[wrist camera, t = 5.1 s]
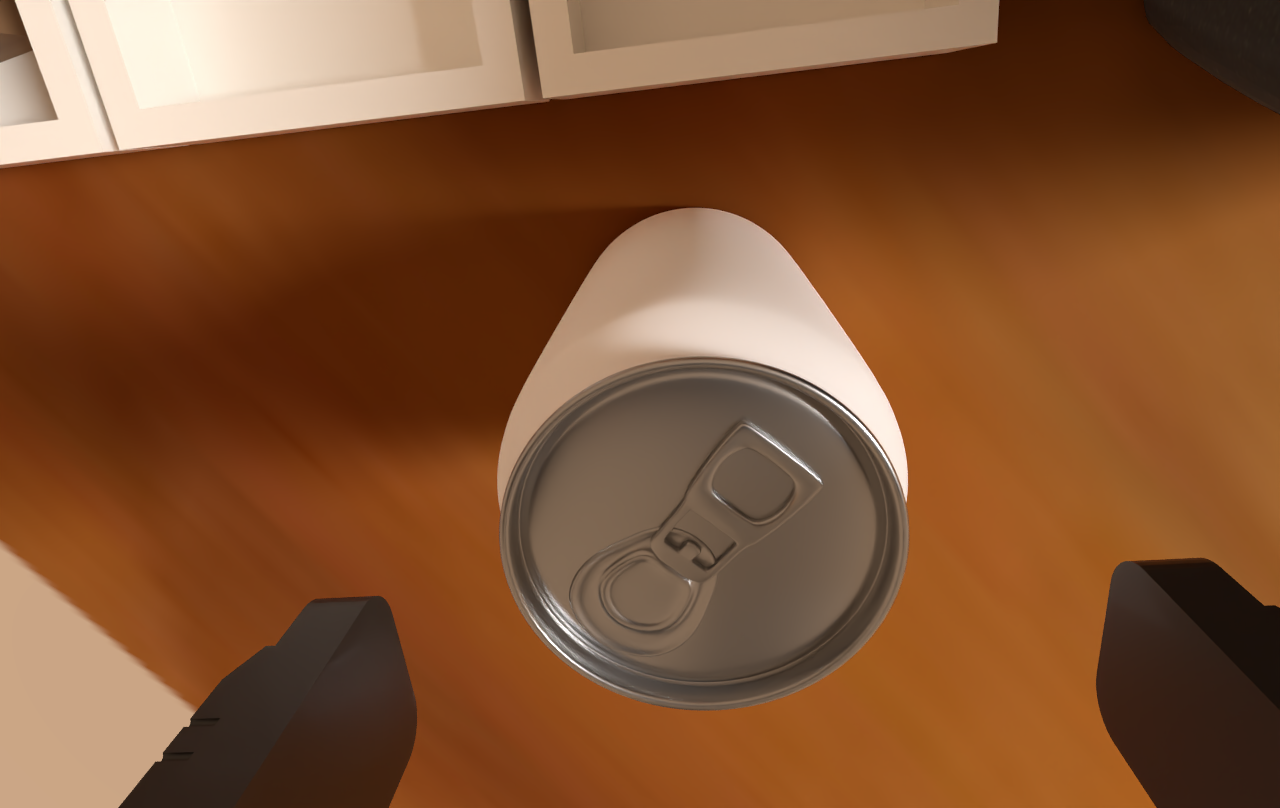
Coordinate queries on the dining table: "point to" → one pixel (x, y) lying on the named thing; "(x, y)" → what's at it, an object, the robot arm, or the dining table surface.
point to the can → (702, 474)
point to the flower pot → (1226, 41)
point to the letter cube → (12, 32)
